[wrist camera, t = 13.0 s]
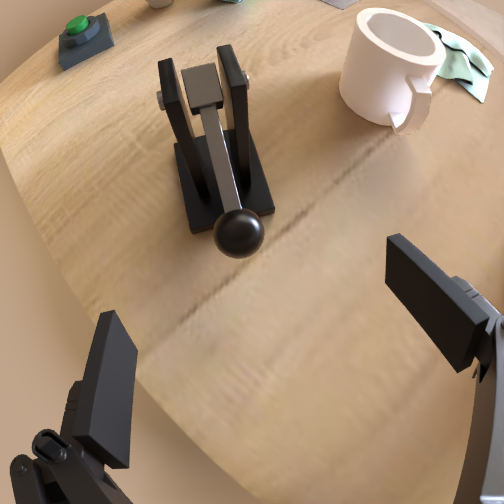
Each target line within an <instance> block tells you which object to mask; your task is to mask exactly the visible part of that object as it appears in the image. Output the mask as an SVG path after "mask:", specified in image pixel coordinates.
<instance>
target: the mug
mask: <svg viewBox="0 0 504 504" xmlns="http://www.w3.org/2000/svg"><path fill="white" fill-rule="evenodd" d="M445 58H446V50H445V47H444V45H443V44H442V42H441V40H440V39H439V38H438V37H437V36H436V35H435V34H434V33H433V32H432V31H431V30H430V29H429V28H427V27H426V26H425V25H423V24H422V23H421V22H419V21H417V20H415V19H413V18H412V17H410V16H408V15H405V14H403V13H400V12H397V11H394V10H389V9H385V8H369V9H365V10H362V11H361V12H360V13H359V14H358V15H357V19H356V23H355V26H354V30H353V34H352V38H351V41H350V45H349V49H348V53H347V56H346V60H345V63H344V67H343V71H342V74H341V78H340V82H339V86H338V87H339V91H340V95H341V97H342V98H343V100H344V102H345V103H346V105H347V106H348V107H349V108H351V109H352V110H353V111H354V112H355V113H356V114H358V115H359V116H361V117H363V118H364V119H366V120H368V121H371V122H373V123H376V124H379V125H386V126H392V128H393V131H394V133H395V135H410V134H412V133H413V132H415V131H417V130H418V129H420V127H421V126H422V124H423V122H424V121H425V119H426V117H427V116H428V113H429V108H430V103H431V98H432V92H431V90H430V89H429V86H430V85H431V83H432V81H433V80H434V78H435V76H436V75H437V73H438V71H439V69H440V68H441V66H442V64H443V62H444V60H445Z"/></svg>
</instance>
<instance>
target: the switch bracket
mask: <svg viewBox="0 0 504 504" xmlns="http://www.w3.org/2000/svg"><path fill="white" fill-rule="evenodd" d="M216 49H217V56H218V63H219V71H220V78H221V85H222V92H223V97H224V107H225V114H226V121H227V128H228V130H224V131H222V132H223V136H224V140H225V144H226V148H227V152H228V156H229V160H230V164H231V168H232V172H233V176H234V180H235V184H236V188H237V192H238V196H239V200H240V204H241V208H246V209H249V210H251V211H253V212H254V213H255V214H257V215H258V217H260V216H264V215H268V214H272V213H274V212H275V206H274V203H273V200H272V197H271V194H270V191H269V187H268V184H267V181H266V178H265V175H264V172H263V169H262V166H261V163H260V160H259V157H258V154H257V151H256V148H255V145H254V142H253V139H252V136H251V133H250V130H249V121H248V99H247V90H249V87H250V86H249V79H248V75H247V73H246V71H245V70H244V71H241V68H240V66H239V63H238V61H237V58H236V56H235V54H234V51H233V49H232V46H231V45H230V44H229V45H224V46H219V47H217V48H216ZM158 69H159V77H160V84H161V91H158V92H157V99H158V103H159V107H160V109H161V111H163V110H166V113H167V116H168V118H169V121H170V123H171V126H172V129H173V131H174V134H175V136H176V139H177V142H178V143H174V149H175V155H176V160H177V166H178V171H179V176H180V181H181V187H182V192H183V197H184V202H185V207H186V211H187V216H188V221H189V226H190V230H191V232H192V233H193V234H195V233H199V232H202V231H206V230H210V229H214V225H215V222H216V220H217V219H218V217H219V216H220V215H221V214H222V213H223V212H225V211H224V207H223V203H222V199H221V195H220V191H219V187H218V184H217V180H216V176H215V172H214V168H213V164H212V160H211V156H210V152H209V148H208V144H207V139H206V135H204V136H200V137H196V138H195V136H194V132H193V129H192V125H191V122H190V119H189V115H188V112H187V108H186V105H185V101H184V98H183V95H182V91H181V88H180V84H179V81H178V77H177V74H176V70H175V67H174V63H173V60H172V58H168V59H165V60H161V61H158Z"/></svg>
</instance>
